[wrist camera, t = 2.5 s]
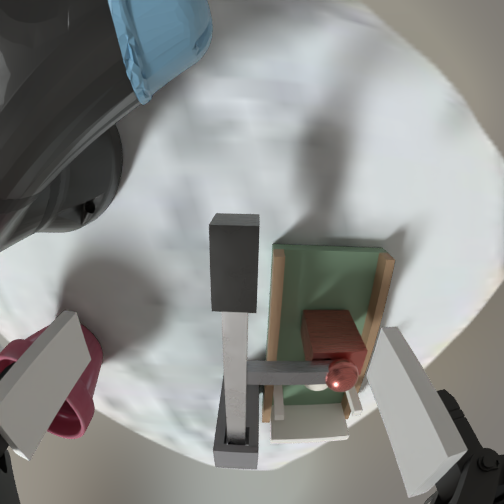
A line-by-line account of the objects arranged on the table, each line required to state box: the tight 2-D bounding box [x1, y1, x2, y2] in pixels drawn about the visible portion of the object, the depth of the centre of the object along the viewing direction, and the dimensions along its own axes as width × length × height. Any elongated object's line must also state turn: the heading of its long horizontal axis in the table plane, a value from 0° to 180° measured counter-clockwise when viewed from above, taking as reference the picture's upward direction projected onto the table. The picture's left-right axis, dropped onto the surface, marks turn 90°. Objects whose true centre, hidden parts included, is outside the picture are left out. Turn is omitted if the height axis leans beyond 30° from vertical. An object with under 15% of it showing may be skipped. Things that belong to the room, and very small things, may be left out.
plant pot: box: [0, 324, 103, 439], centre depth 30 cm, size 14×14×13 cm
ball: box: [305, 384, 328, 391], centre depth 32 cm, size 4×4×4 cm
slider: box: [209, 213, 368, 445], centre depth 27 cm, size 28×13×10 cm, turn 179°
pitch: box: [213, 244, 395, 469], centre depth 29 cm, size 24×17×12 cm
